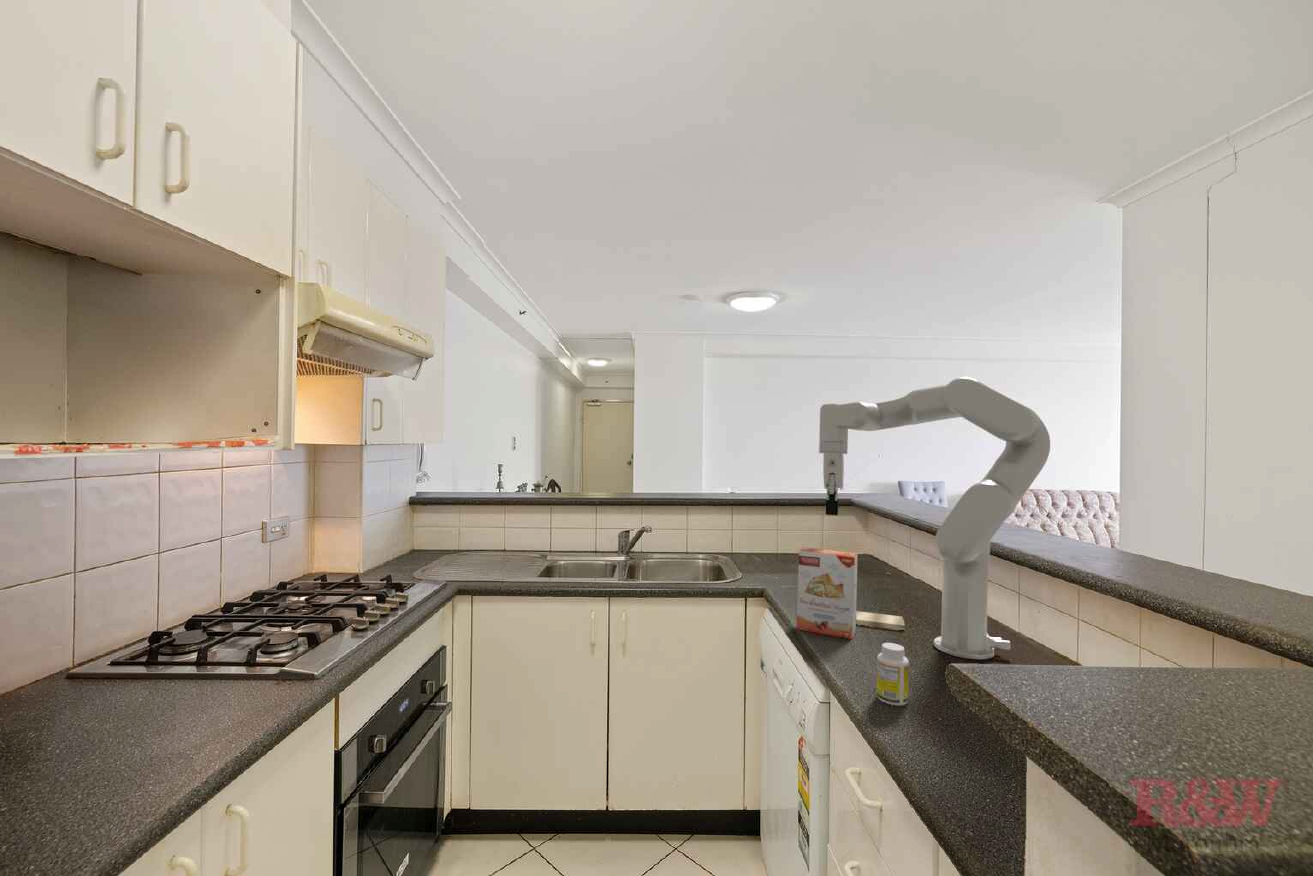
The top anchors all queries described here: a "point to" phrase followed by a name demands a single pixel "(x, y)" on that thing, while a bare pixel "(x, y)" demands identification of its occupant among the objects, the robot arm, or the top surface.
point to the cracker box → (827, 592)
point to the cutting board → (880, 620)
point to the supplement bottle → (892, 675)
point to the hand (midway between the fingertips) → (831, 514)
